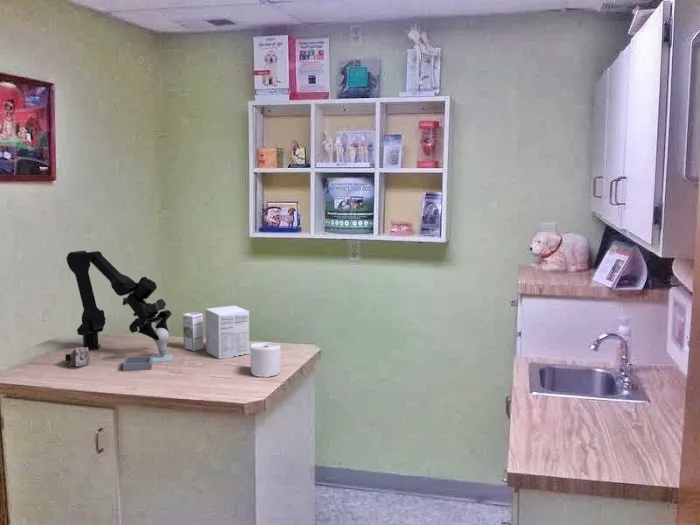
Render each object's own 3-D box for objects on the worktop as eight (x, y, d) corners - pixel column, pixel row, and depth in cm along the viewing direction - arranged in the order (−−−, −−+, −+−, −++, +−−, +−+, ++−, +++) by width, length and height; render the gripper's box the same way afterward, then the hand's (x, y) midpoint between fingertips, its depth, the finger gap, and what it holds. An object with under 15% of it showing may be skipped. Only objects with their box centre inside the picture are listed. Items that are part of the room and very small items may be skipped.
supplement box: (250, 354, 264) (250, 310, 262) (218, 359, 257) (218, 314, 255) (236, 347, 275) (235, 305, 273) (205, 351, 268) (204, 308, 266)
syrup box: (204, 348, 273) (203, 313, 271) (193, 351, 268) (192, 315, 266) (193, 346, 276) (193, 311, 274) (183, 349, 271) (182, 313, 269)
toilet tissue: (272, 379, 234) (272, 351, 232) (241, 375, 238) (241, 347, 237) (285, 370, 244) (285, 343, 242) (256, 367, 248) (255, 340, 247)
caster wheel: (76, 366, 256) (98, 364, 253) (54, 367, 245) (77, 366, 242) (75, 348, 257) (97, 346, 253) (54, 349, 246) (76, 347, 243)
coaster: (151, 356, 260) (151, 355, 260) (172, 355, 262) (172, 354, 262) (150, 362, 253) (150, 361, 253) (172, 360, 255) (172, 359, 254)
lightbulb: (174, 355, 259) (171, 327, 256) (160, 359, 254) (158, 332, 252) (164, 351, 263) (162, 324, 260) (151, 356, 258) (148, 328, 255)
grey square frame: (125, 363, 250) (125, 357, 250) (152, 362, 253) (152, 355, 252) (123, 371, 241) (123, 364, 241) (151, 369, 243) (151, 362, 243)
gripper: (134, 297, 247) (159, 330, 244) (167, 289, 264) (191, 320, 261) (118, 316, 251) (142, 348, 249) (151, 307, 268) (174, 337, 266)
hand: (163, 338), depth 256 cm, fingers closed on lightbulb, 6 cm apart
